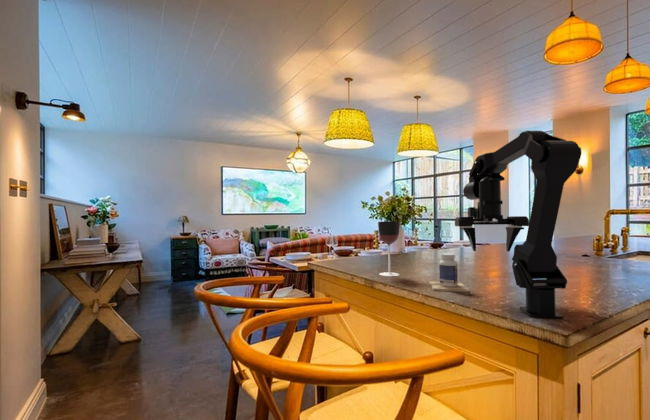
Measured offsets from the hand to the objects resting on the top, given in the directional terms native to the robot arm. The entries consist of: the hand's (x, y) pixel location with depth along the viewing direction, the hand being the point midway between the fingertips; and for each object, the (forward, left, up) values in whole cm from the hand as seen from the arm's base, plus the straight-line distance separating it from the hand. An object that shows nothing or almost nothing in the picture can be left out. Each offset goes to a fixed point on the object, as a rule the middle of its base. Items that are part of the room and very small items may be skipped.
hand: (491, 251), depth 94 cm
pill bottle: (+5, +11, -12) cm, 17 cm away
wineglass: (+24, +29, -12) cm, 40 cm away
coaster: (+5, +11, -12) cm, 17 cm away
